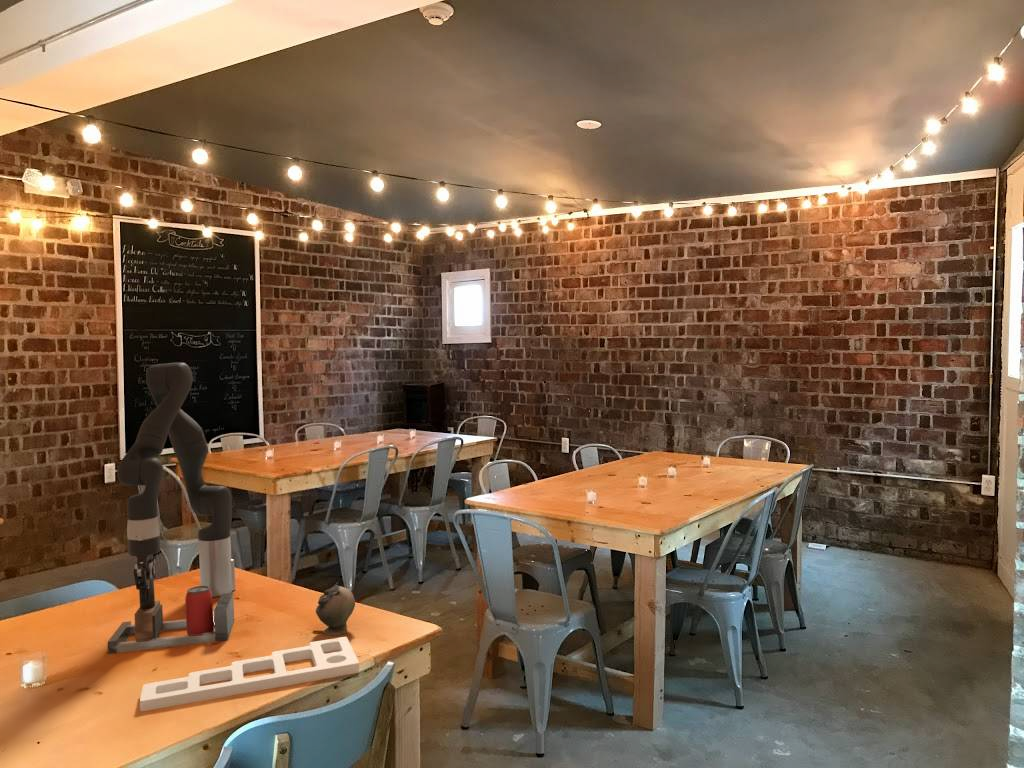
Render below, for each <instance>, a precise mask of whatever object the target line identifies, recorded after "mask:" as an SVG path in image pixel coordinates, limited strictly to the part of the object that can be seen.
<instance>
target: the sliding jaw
mask: <svg viewBox="0 0 1024 768" xmlns="http://www.w3.org/2000/svg"><path fill="white" fill-rule="evenodd" d="M147 576H148V575H146V577H147ZM141 584H144V582H141ZM149 586H150V588H149V591H150V602H149V603H148V604H141V603H140V602H139V608H138V609H137V610H136V612H134V625H135V634H134V635H135V641H136V640H145V639H155V638H158V637H159V634H160V633H161V632H162V631H161V630H162V628H163V622H164V618H163V617H164V616H163V615H164V614H163V604H161V600H156V599H155V598H156V597H155V579H154V575H152V578H151V579H150V582H149ZM138 592H139V593H138V594H139V597H138V598H140V591H139V590H138Z"/></svg>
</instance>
